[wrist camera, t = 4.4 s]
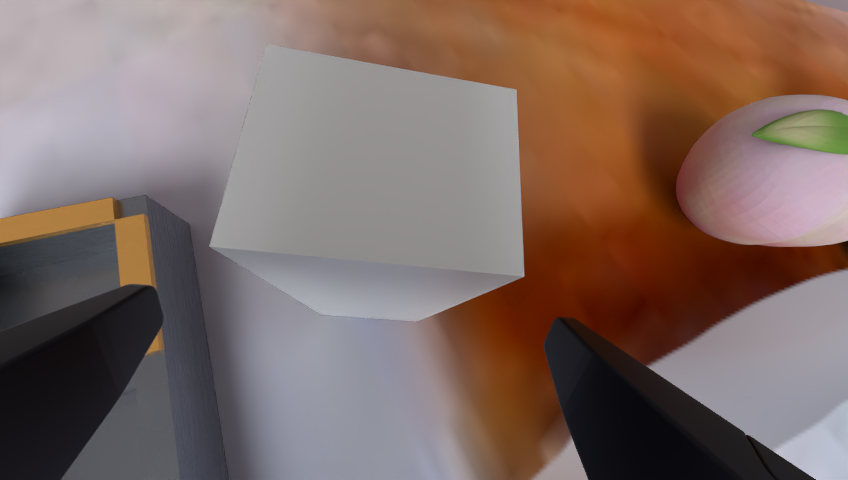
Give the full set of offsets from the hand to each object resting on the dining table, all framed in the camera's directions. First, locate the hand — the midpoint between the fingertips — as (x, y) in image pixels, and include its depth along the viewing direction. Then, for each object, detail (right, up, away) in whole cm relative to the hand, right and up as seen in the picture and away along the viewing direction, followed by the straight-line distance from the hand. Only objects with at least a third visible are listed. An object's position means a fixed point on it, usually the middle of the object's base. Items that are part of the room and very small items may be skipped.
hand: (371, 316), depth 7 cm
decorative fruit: (+20, +4, +16) cm, 26 cm away
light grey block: (-1, 0, +10) cm, 10 cm away
